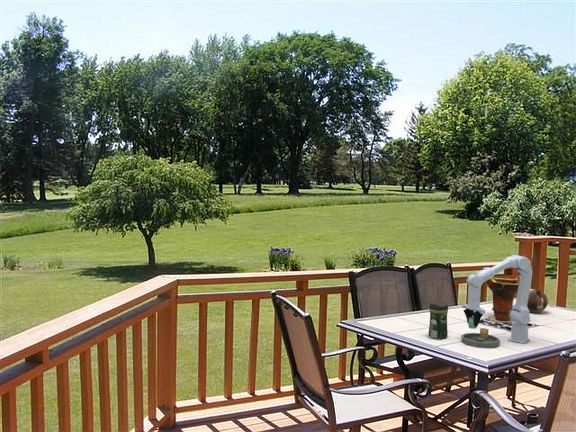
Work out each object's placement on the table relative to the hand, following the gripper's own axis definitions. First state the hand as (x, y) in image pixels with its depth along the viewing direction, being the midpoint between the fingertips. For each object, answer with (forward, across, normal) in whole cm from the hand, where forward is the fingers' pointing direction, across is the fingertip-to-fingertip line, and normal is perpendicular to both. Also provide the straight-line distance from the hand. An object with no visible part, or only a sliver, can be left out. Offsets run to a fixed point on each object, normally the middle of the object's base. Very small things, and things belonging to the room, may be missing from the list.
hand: (472, 324), depth 272 cm
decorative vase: (+9, -31, +50) cm, 59 cm away
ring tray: (+8, +4, +2) cm, 9 cm away
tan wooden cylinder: (+7, +1, +6) cm, 10 cm away
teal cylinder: (+1, 0, 0) cm, 1 cm away
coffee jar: (+9, -12, -12) cm, 19 cm away
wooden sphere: (+8, -39, +85) cm, 94 cm away
